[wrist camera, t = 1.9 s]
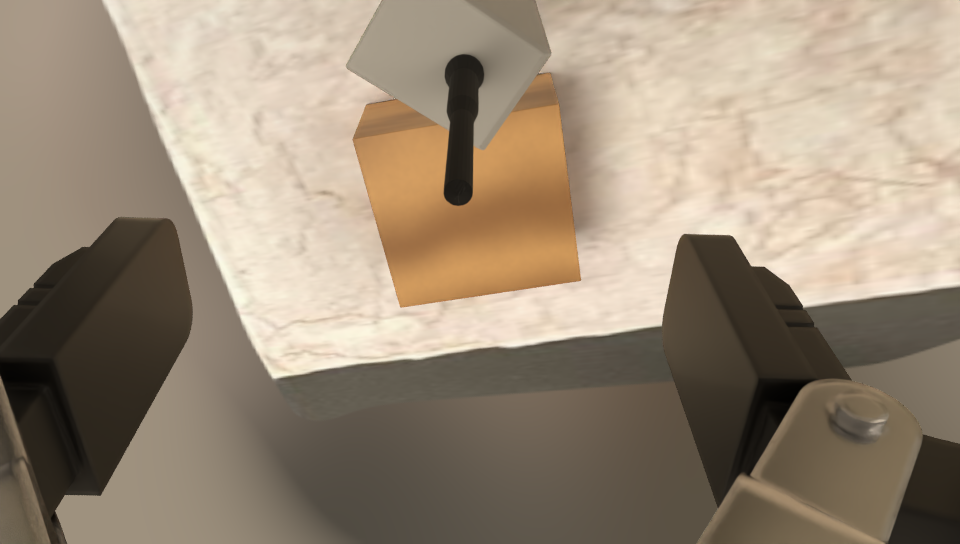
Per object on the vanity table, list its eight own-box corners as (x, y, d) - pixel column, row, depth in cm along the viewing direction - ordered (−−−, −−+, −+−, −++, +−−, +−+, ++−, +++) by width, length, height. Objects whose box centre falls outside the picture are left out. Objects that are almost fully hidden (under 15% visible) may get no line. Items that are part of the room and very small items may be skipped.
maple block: (365, 104, 40) (352, 139, 35) (550, 72, 39) (559, 103, 34) (407, 261, 45) (400, 308, 40) (571, 236, 44) (581, 281, 40)
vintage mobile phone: (435, -102, 34) (367, 31, 13) (523, -39, 36) (590, 171, 15) (396, -30, 36) (278, 191, 15) (481, 27, 37) (486, 303, 16)
